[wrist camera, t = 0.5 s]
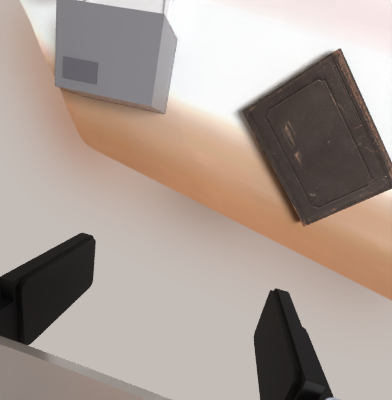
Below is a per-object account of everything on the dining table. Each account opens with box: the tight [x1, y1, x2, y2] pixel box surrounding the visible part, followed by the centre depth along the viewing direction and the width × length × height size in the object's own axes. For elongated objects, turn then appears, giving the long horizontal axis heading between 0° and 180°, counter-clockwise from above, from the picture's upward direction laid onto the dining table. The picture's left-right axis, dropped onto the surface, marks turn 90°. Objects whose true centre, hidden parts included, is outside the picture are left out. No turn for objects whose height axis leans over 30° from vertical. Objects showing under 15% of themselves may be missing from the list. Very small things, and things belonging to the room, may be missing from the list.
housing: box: [55, 0, 177, 114], centre depth 33 cm, size 12×17×7 cm
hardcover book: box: [243, 49, 392, 226], centre depth 33 cm, size 16×23×2 cm
